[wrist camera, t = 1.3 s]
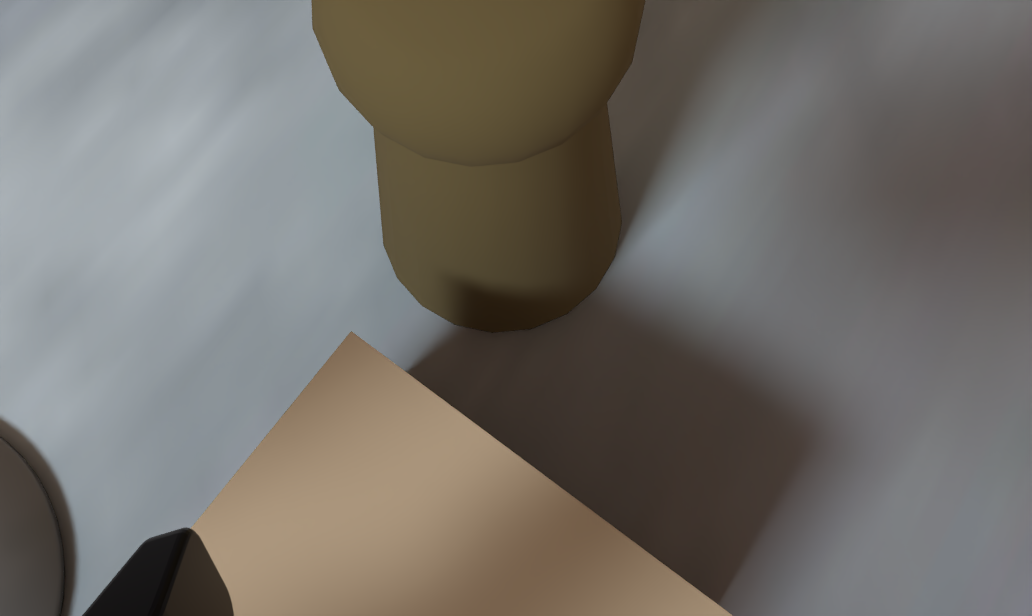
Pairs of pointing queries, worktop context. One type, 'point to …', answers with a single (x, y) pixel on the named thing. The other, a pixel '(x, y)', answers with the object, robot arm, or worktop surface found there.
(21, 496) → the slate coaster
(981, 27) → the worktop surface
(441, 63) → the cork
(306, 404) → the lid
